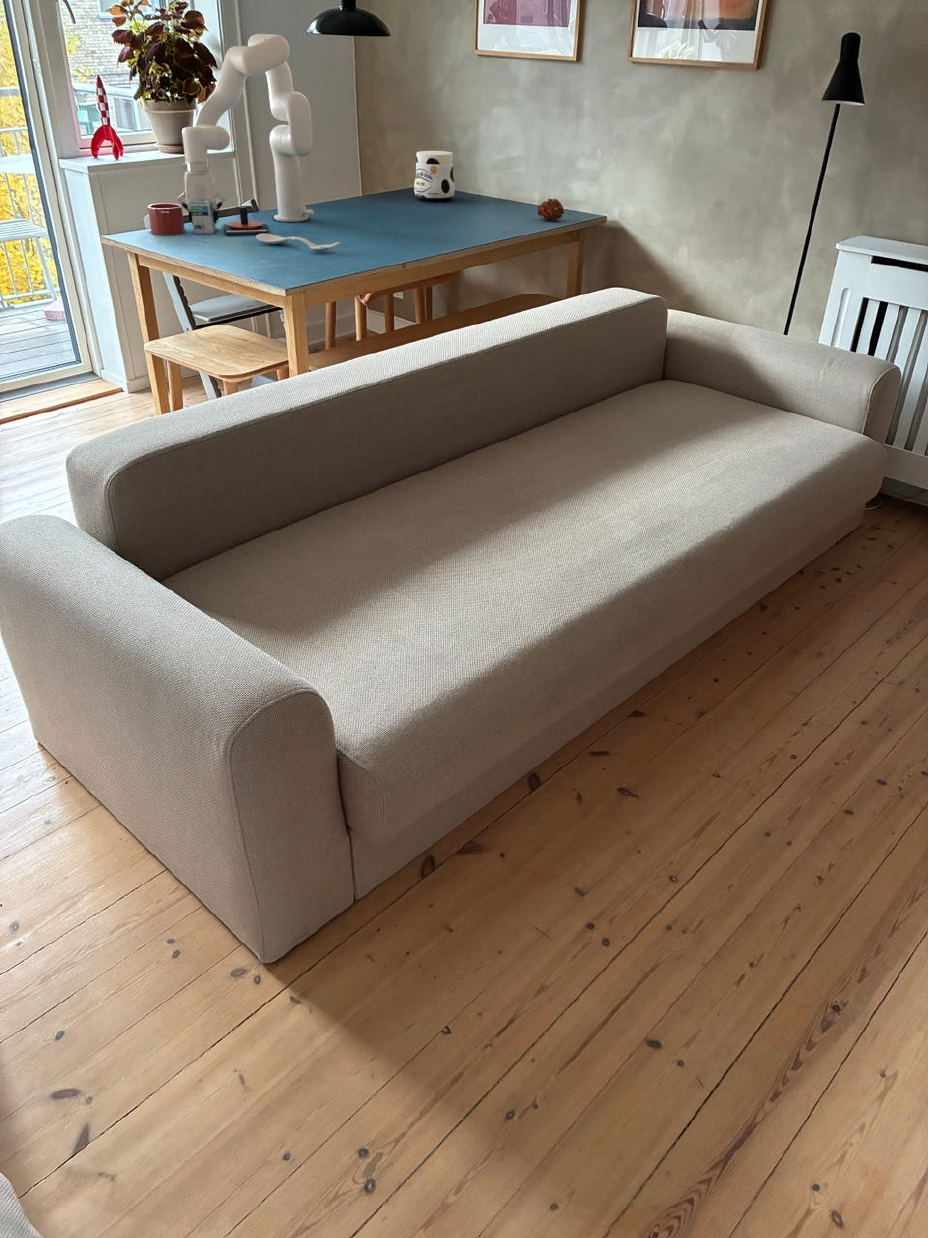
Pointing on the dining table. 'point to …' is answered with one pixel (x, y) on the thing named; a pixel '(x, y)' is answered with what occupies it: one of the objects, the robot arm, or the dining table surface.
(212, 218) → the light bulb box
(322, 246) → the spoon
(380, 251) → the dining table surface
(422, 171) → the milk container
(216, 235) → the dining table surface
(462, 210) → the dining table surface
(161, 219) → the pot
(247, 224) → the pot lid
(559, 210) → the red-brown bumpy ovoid
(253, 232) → the blue-grey flat slab
